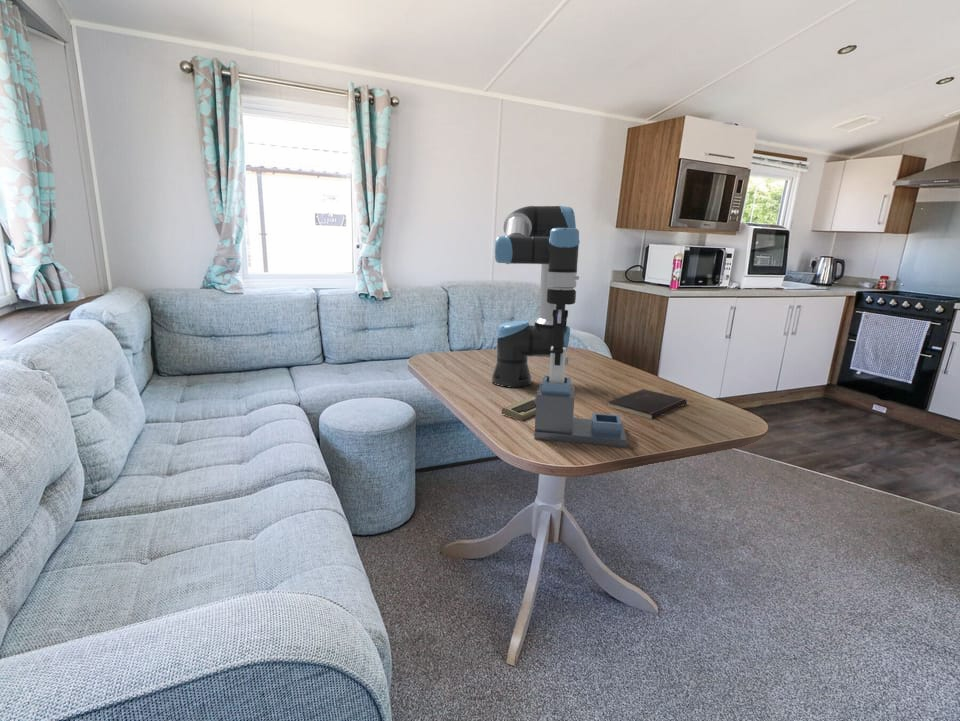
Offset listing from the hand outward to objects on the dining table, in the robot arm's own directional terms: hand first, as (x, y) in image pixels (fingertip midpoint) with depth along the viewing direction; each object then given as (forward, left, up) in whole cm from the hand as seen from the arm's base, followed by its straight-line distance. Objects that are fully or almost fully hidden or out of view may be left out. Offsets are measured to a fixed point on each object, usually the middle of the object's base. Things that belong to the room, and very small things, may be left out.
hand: (557, 374), depth 133 cm
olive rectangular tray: (-10, +15, -17) cm, 25 cm away
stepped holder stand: (+7, 0, -17) cm, 18 cm away
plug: (0, 0, -5) cm, 5 cm away
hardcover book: (+29, +31, -17) cm, 46 cm away
